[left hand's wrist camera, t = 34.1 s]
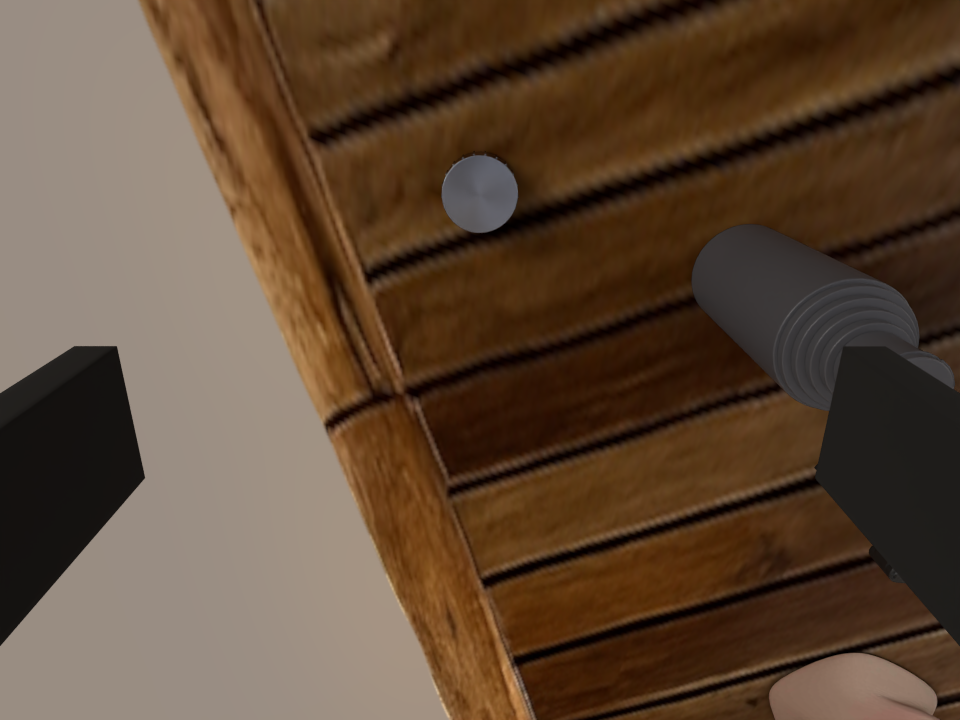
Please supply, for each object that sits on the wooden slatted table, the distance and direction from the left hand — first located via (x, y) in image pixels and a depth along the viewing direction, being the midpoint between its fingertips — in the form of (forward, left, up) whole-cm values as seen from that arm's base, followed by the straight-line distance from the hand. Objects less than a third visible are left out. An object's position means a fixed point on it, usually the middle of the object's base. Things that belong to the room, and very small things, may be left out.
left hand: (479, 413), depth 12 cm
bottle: (-14, +11, -31) cm, 35 cm away
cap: (0, 0, -29) cm, 29 cm away
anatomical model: (-13, +51, -31) cm, 61 cm away
